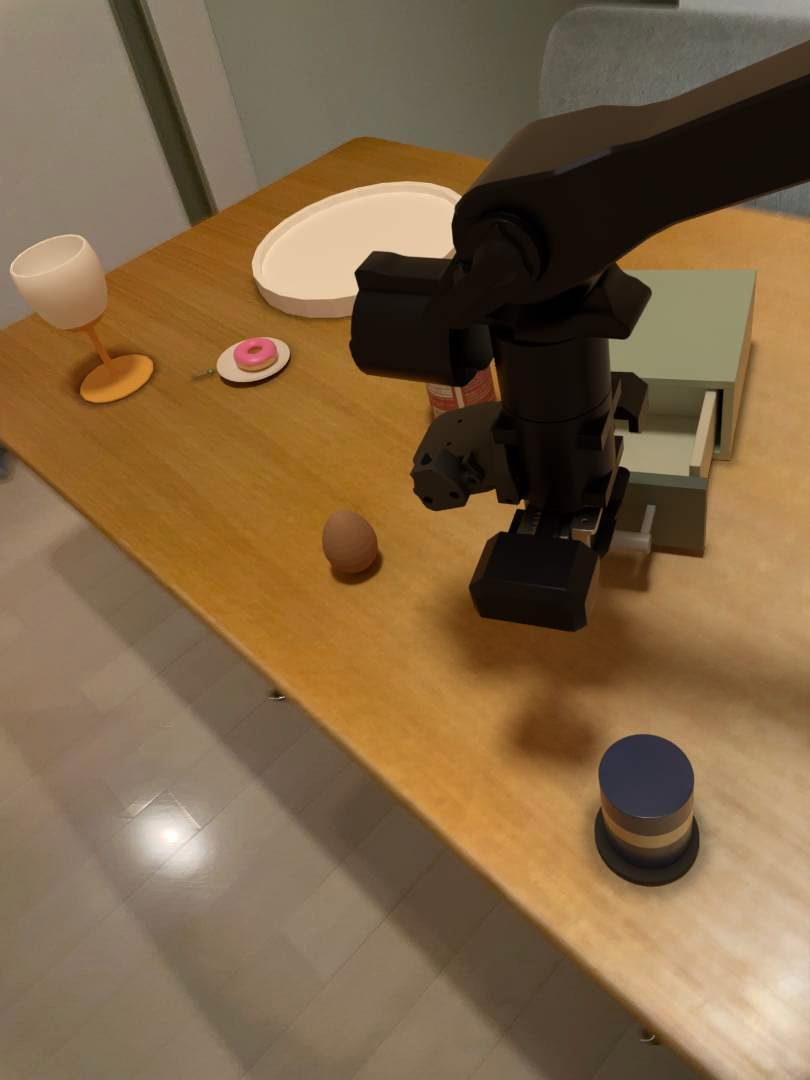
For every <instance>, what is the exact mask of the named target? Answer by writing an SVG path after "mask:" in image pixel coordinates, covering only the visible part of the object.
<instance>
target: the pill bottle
mask: <svg viewBox="0 0 810 1080" xmlns="http://www.w3.org/2000/svg"><path fill="white" fill-rule="evenodd" d="M424 385H425V388H426V392H427V396H428V400H429V404H430V408H431V413H432V415H433V418H434V419H435V418H436V417H438V416H439V415H441V414H442V413H445V412H447V411H451V410H455V409H459V408H463V407H466V406H470V405H474V404H478V403H482V402H486V401H496V402H498V401H497V395H496V389H495V385H494V379H493V373H492V369H491V364H490V365H489V366H488V367H487V368H486V369H485V370H483V371H477V374H476V375H475V377H474V378H473V379H472V381H470V382H469V383H468V384H467V385H466V386H464V387H461V388H460V387H452V386H444V385H437V384H430V383H424ZM434 419H433V420H434Z"/></svg>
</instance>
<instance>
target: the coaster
mask: <svg viewBox="0 0 810 1080" xmlns="http://www.w3.org/2000/svg"><path fill="white" fill-rule="evenodd" d="M593 828H594V831H593V832H594V840H595V844H596V848H597V851H598V853H599V855H600V857H601V858H602V860H603V862H604V863H605V864H606V866H607V867H608V868H609V869H610V870H611V871H612V872H614V873H615V874H616V875H617V876H619V877H621V878H622V879H624V880H626V881H628V882H631V883H634V884H636V885H642V886H652V887H653V886H662V885H666V884H669V883H672V882H674V881H677V880H678V879H679V878H681V877H683V876H684V875H685V874H686V873H687V872H688V871H689V870H690V869H691V867H692V866H693V865H694V863H695V861H696V859H697V856H698V853H699V850H700V838H701V837H700V829H699V825H698V822H697V819H696V817H695V815H694V814H693V819H692V837H691V841H690V844H689V847H688V849H687V850H686V852H685V853H684V854H683V856H682V857H681V858H680V859H678V860H677V861H676V862H674V863H672V864H670V865H668V866H665V867H661V868H643V867H638V866H635V865H633V864H631V863H629V862H627V861H625V860H624V859H622V858H621V857H620V856H619V855H618V854H617V853H616V852H615V851H614V850H613V848H612V847H611V846H610V844H609V842H608V840H607V837H606V834H605V828H604V819H603V812H602V806H601V805H600V807H599V809H598V811H597V813H596V816H595V820H594V827H593Z"/></svg>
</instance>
